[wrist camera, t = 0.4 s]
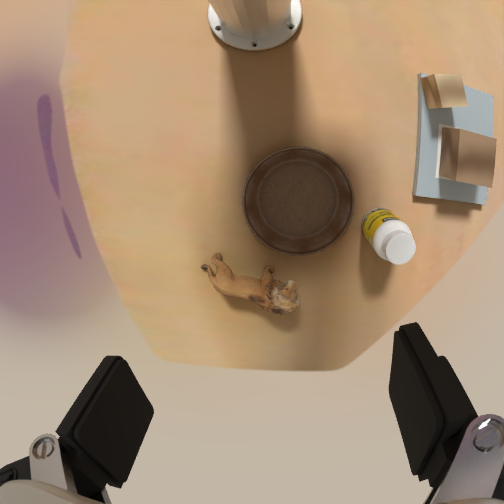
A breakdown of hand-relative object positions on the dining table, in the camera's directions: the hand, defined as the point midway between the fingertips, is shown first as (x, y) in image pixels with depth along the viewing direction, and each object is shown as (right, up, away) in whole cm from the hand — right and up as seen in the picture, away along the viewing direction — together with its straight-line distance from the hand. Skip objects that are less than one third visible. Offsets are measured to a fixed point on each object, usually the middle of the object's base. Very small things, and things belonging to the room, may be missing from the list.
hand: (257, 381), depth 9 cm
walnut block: (+30, +18, +25) cm, 43 cm away
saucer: (+6, +12, +32) cm, 35 cm away
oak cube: (+25, +26, +22) cm, 43 cm away
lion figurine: (0, +2, +37) cm, 37 cm away
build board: (+30, +21, +26) cm, 45 cm away
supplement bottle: (+18, +8, +32) cm, 38 cm away
